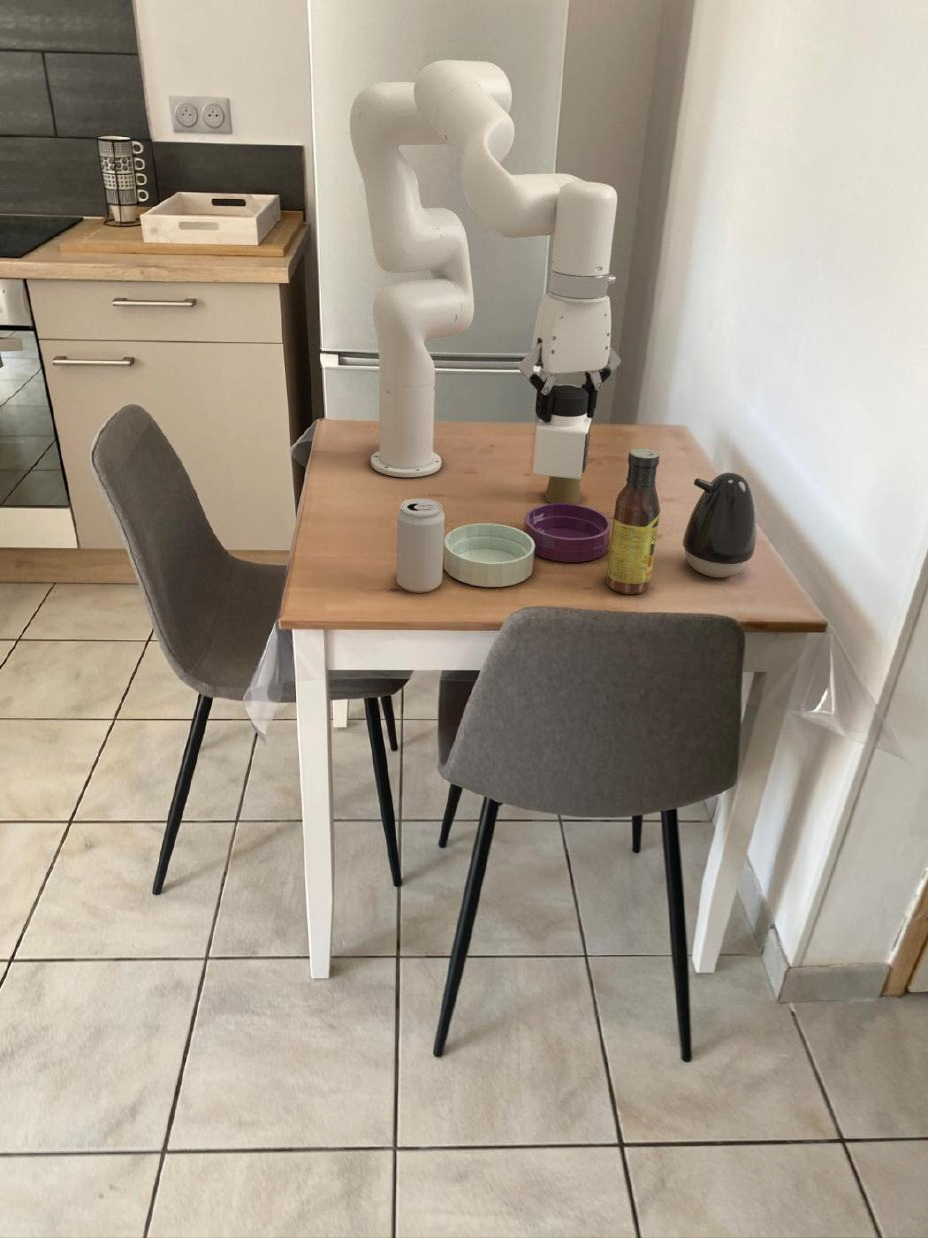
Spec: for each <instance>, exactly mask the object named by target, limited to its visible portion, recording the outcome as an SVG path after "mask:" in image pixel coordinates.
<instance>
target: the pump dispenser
mask: <svg viewBox="0 0 928 1238" xmlns="http://www.w3.org/2000/svg"><path fill="white" fill-rule="evenodd" d="M693 485H694V486H695V487H698V488H699V489H701V490H703V492H702V494H701V495H700V497H699V498H698V500H697V502H696V503H695V506H694V507H693V510H692V512H691V514H690V517H689V519H688V522H687V525H686V526H685V527H686V528H685V531H684V534H683V539H682V546H683V547H684V554H685V558H686V561H687V563H689V565H690V566H691V567H692V568H693V569H694V570H695V571H697V572H698V573H699V574H702V575H704V576H707V577H711V578H728V577H732V576H734V575H736V574H738V573H739V572H741V571H742V570H743V569H744V568H745V567H746V566H747V564H748V563H749V560H750V559H752V557H753V556H754V553H755V548H756V540H757V539H756V538H757V513H756V507H755V506H756V505H755V501H754V496H753V492H752V489H751V487H750V485H749V483H748V481H747V479H746V478H745V477H744V476H743V475H741V474H739V473H736V472H732V471H731V472H730V471H728V472H723V473H720V474H719V475H717V476H716V477H714V478H713V479H712V480H711V482H710V481H708V480H704V479H701V478H699V477H696V478H695V479H694V480H693Z"/></svg>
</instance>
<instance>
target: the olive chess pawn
mask: <svg viewBox="0 0 928 1238" xmlns="http://www.w3.org/2000/svg"><path fill="white" fill-rule="evenodd" d="M544 499H545V501H546V502H547V503H549V504H551V503H569V504H577V505H579V503H581V479H571V478H562V477H552V476H549V478H548V482H547V486H546V490H545V495H544Z"/></svg>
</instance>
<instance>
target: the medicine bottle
mask: <svg viewBox="0 0 928 1238" xmlns="http://www.w3.org/2000/svg"><path fill="white" fill-rule="evenodd" d="M550 394H552V395H553V405H552V415H551V421H550V422H548V423H545V422H544V421H543V420H541V419H540V418H539V421H538V424H537V426H536V428H535V440H534V453H533V466H532V467H533V468H532V474H533V475H535V476H536V475H537V476H544V477H550V476H552V477H562V478H571V479H580V480H583V478H584V474H585V471H586V468H587V465H588V458H589V447H590V438H591V428H592V418H588V417H587V407H588V397H589V394H588V392H587V391H586V390H585V389H583V388H582V387H581V386H579V385H575V384H570V383H560V384H559V383H558V384H553V386H552V388H551V391H550Z"/></svg>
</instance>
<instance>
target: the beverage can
mask: <svg viewBox="0 0 928 1238" xmlns="http://www.w3.org/2000/svg"><path fill="white" fill-rule="evenodd" d="M399 505H400V506H399V510H398V511H397V514H396V515H397V516H396V582H397V584H398V585H399V586H400V587H402V588H403V589H404V590H406V591H407V592H412V593H417V594H418V593H419V594H422V593H428V592H431V591H434V590H435V589H437V588H438V587H440V585H441V584H442V582H443V570H444V569H443V568H444V564H443V554H444V539H445V519H446V517H445V513H444V511H443V505H442V504H441V503H440V502H438V501H437V500H435V499H431V498H427V497H426V498H425V497H414V498H409V499H406V500H403V501H402V502H401V503H400V504H399Z"/></svg>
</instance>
